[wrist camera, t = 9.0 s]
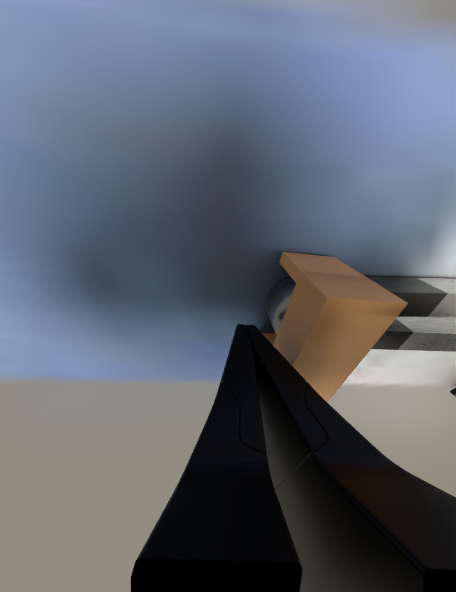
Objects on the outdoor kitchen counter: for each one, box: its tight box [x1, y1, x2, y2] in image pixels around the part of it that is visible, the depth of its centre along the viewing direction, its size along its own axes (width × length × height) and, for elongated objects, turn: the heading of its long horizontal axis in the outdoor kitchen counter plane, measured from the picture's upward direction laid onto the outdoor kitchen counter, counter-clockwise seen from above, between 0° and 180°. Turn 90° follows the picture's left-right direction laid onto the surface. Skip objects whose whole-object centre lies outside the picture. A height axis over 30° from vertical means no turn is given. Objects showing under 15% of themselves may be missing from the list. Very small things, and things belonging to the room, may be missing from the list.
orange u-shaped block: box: [262, 252, 408, 401], centre depth 9 cm, size 3×6×4 cm, turn 172°
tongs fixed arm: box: [265, 276, 456, 351], centre depth 12 cm, size 20×4×2 cm, turn 83°
